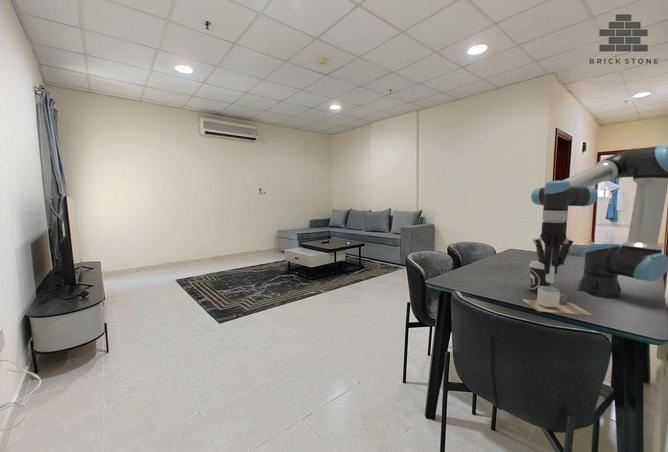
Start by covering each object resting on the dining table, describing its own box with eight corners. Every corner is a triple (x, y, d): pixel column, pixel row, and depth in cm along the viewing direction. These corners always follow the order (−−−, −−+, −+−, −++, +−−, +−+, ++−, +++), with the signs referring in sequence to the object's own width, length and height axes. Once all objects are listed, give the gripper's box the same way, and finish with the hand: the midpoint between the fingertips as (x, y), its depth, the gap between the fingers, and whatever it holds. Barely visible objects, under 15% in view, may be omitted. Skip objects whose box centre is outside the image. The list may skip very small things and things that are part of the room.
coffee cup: (545, 300, 125) (547, 265, 124) (522, 293, 134) (524, 261, 132) (557, 296, 129) (559, 263, 128) (534, 290, 138) (536, 259, 136)
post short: (562, 303, 118) (563, 293, 118) (566, 305, 116) (567, 295, 115) (555, 302, 119) (556, 293, 118) (559, 305, 116) (560, 295, 116)
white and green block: (551, 302, 116) (552, 286, 115) (558, 307, 111) (560, 290, 110) (536, 301, 117) (538, 285, 116) (543, 306, 112) (545, 289, 111)
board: (570, 305, 119) (570, 302, 119) (591, 317, 106) (592, 314, 106) (522, 302, 122) (522, 299, 122) (537, 314, 110) (537, 311, 110)
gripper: (567, 221, 113) (562, 280, 115) (530, 220, 115) (526, 278, 118) (580, 222, 106) (574, 285, 108) (540, 222, 108) (535, 283, 110)
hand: (549, 281), depth 113 cm, fingers closed
